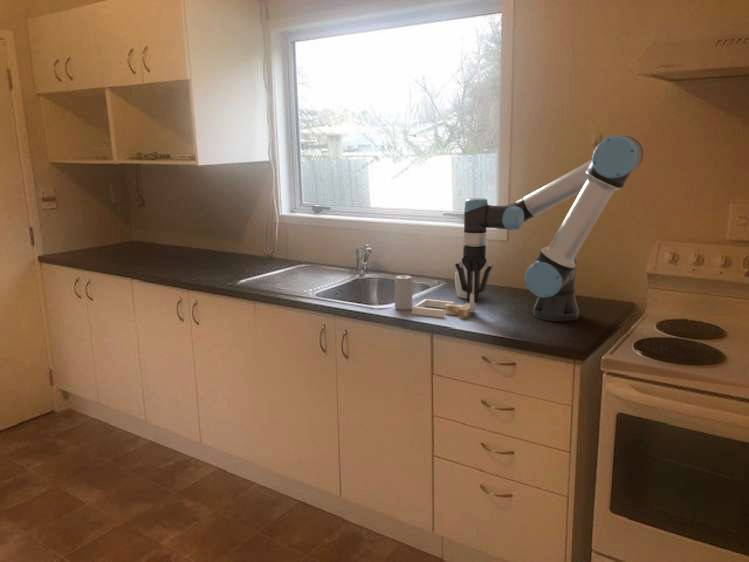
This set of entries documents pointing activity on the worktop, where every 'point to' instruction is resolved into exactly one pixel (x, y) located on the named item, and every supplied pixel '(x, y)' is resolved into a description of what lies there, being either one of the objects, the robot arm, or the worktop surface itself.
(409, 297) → the beverage can
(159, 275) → the worktop surface
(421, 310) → the tray
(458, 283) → the mug
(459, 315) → the t block
